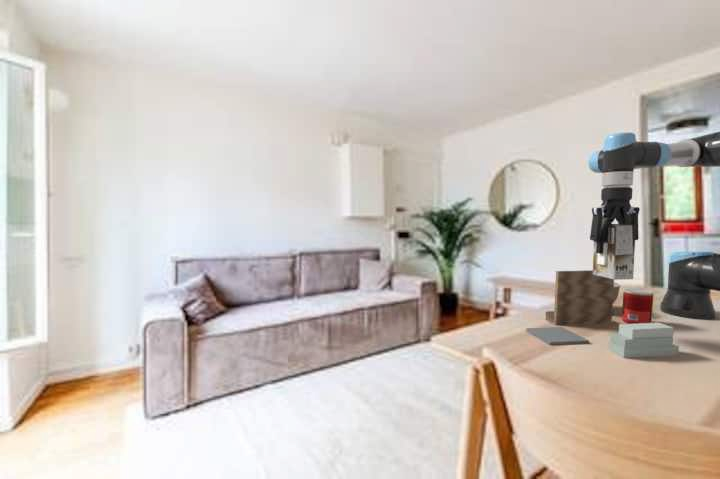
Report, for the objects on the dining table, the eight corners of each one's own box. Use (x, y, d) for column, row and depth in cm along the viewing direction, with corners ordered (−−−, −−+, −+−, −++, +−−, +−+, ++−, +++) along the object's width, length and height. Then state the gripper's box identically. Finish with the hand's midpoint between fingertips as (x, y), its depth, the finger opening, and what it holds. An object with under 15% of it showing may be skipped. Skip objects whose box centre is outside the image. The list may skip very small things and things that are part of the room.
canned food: (656, 327, 117) (658, 294, 116) (628, 325, 119) (631, 292, 118) (643, 319, 125) (645, 288, 124) (617, 318, 126) (619, 287, 125)
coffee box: (634, 279, 104) (637, 224, 103) (614, 280, 103) (617, 224, 102) (610, 273, 113) (612, 223, 112) (591, 274, 113) (593, 223, 111)
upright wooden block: (598, 318, 126) (601, 267, 125) (611, 323, 121) (614, 270, 119) (545, 319, 124) (547, 268, 123) (555, 325, 119) (558, 271, 117)
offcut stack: (660, 348, 100) (662, 322, 99) (678, 355, 95) (680, 328, 94) (608, 351, 98) (609, 324, 97) (623, 358, 93) (625, 330, 92)
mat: (561, 329, 115) (561, 326, 115) (589, 343, 103) (589, 340, 103) (526, 330, 113) (526, 328, 113) (549, 344, 101) (550, 342, 101)
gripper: (596, 186, 101) (592, 266, 103) (658, 186, 103) (653, 265, 105) (577, 187, 109) (574, 262, 111) (635, 187, 111) (631, 261, 113)
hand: (612, 263), depth 108 cm, fingers closed on coffee box, 6 cm apart
